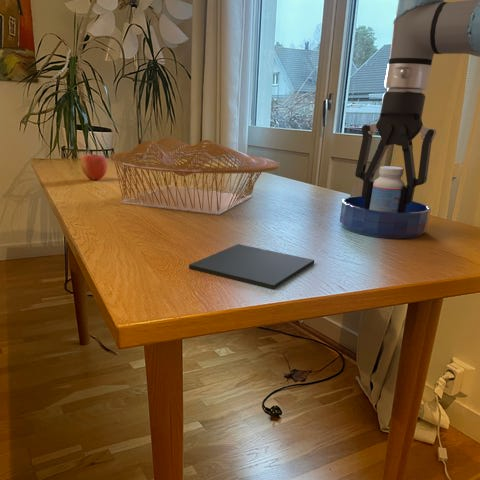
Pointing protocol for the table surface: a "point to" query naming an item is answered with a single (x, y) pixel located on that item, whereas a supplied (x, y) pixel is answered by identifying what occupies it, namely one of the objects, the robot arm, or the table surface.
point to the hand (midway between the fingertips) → (383, 216)
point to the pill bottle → (387, 189)
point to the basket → (182, 196)
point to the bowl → (384, 219)
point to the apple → (94, 166)
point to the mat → (253, 265)
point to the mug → (357, 189)
